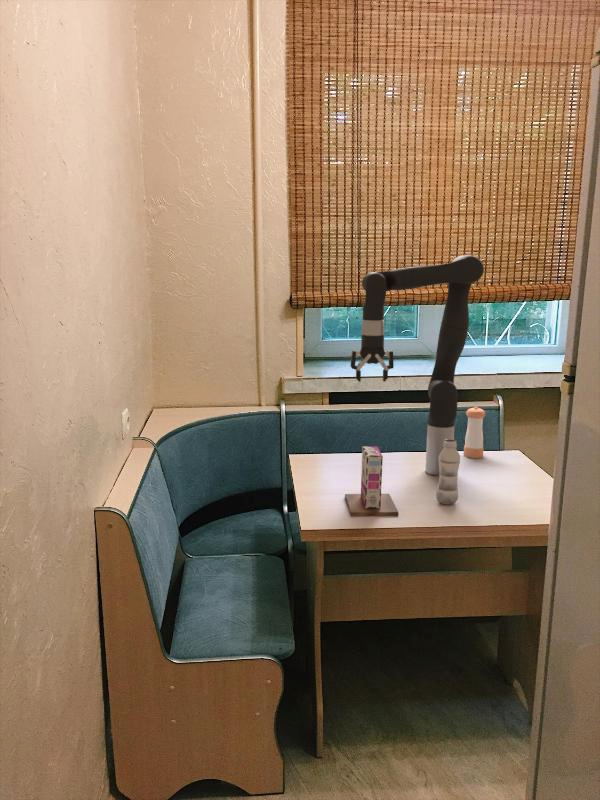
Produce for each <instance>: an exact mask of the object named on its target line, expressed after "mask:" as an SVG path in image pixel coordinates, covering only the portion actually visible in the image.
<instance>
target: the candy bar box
mask: <svg viewBox="0 0 600 800" xmlns="http://www.w3.org/2000/svg"><path fill="white" fill-rule="evenodd" d="M361 449H362V451H361V475H360V476H361V477H360V478H361V480H360V494H361V498H362V501H363V504H364V507H365V508H367V509H379V508H381V494H382V482H383V481H382V480H383V476H382V475H383V459H384V458H383V454H382V453H381V451H380V449H379V447H378V446H376V445H375V446H372V445H371V446H368V445H367V446H362V448H361Z"/></svg>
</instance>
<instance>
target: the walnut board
mask: <svg viewBox="0 0 600 800" xmlns="http://www.w3.org/2000/svg"><path fill="white" fill-rule="evenodd" d="M344 499H345V502H346V506H347V509H348V512H349V515H350V517H397V516H398V517H399V510H398V508H397V507H396V504H395V502H394V500H393V498H392V496H391V495H390V493H381V508H379V509H367V508H365V507H364V504H363V501H362V498H361V493H345V494H344Z"/></svg>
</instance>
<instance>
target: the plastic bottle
mask: <svg viewBox="0 0 600 800" xmlns="http://www.w3.org/2000/svg"><path fill="white" fill-rule="evenodd" d="M443 446H444V449H443V450H442V451H441V453H440V454H439V473H440V474H439V476H438V477H439V478H438V479H439V480H438V485H437V490H436V493H435V494H436V495H435V497H436V500H437V502H438V503H440V504H443V505H454V504H456V503H457V501H458V499H459V490H458V474H459V469H460V468H459V467H460V463H461V455H460V453H459V451H458V450H457V440H455V439H454V440H453V439H446V440H444V445H443Z"/></svg>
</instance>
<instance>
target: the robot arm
mask: <svg viewBox="0 0 600 800" xmlns="http://www.w3.org/2000/svg"><path fill="white" fill-rule="evenodd" d="M484 268H485V267H484V263H483V261H482V260H480V259H479V258H478V257H476V256H474V255H465V254H464V255H459V256H457V257H456V258H454V259H453V261H452V262H448V263H443V264H437V265H436V264H433V265H419V266H410V267H403V268H402V267H401V268H396V269H393V270H392V269H391V270H382V271H373V272H372V271H371V272H368V273H367V274H366V275H365V276H363V279H362V281H361V286H362V289H363V290H364V291H365V295H364V296H365V298H364V300H365V302H364V303H363V307H362V321H361V322H362V323H361V338H360V339H361V340H360V341H361V346H360V350H353V349H352V350H351V358H350V368H351V369H352V370H355V379H356V380H357V381H358V382H360V383H361V378H362V377H361V375H362V374H361V373H362V371H361V369H362V368H363V366H365V364H369V365H370V364H375V365H377V364H378V363H379V364H380V366H381V367H382V368H383V369H382V382H387V380H388V379H389V378H388V376H389V375H388V374H389V370H391V369H394V367H395V366H394V365H395V364H394V352H393V350H391V349H389V350H385V349H384V348H385V347H384V346H385V334H386V333H385V302H386V298H387V297H386V295H387V292H389V291H405V290H412V289H416V288H417V289H418V288H423V287H429V286H435V285H441V284H442V285H443V284H448V285H447V286H448V287H447V288H448V289H447V296H446V301H445V305H444V310H443V313H442V319H441V322H440V327H439V333H438V340H437V346H436V353H435V354H436V355H435V360H434V361H435V362H434V366H433V370H432V372H431V373H432V374H431V377H430V380H429V383H428V386H427V394H428V395H427V396H428V397H429V403H430V404H429V413H428V417H427V430H426V431H427V432H426V453H425V472H426V473H427V474H428V475H432V476H438V477H439V474H440V473H439V454H440V453H441V451H442V450H443V449H444V446H443V445H444V440H446V439H453V440H455V424H456V418H457V414H458V401H459V399H458V397H459V394H458V389H457V387H456V385H455V384H454V383H455V382H454V381H455V372H456V368H457V364H458V361H459V359H460V357H461V355H462V353H463V351H464V347H465V346H466V345H465V344H466V341H467V338H468V331H469V328H470V327H469V326H470V312H469V296H470V295H469V294H470V291H471V286H472V284H474V283H476V282H478V281H479V280H480V279H481V278H482V277H483V274H484V272H485V269H484ZM359 356H360V357H361V359H360V361H359V362H358V364H357V365H356V361H357V360H356V358H358V357H359ZM385 356H386V357H387V358H388V364H386V363H385V361H384V360H383V358H384V357H385Z"/></svg>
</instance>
